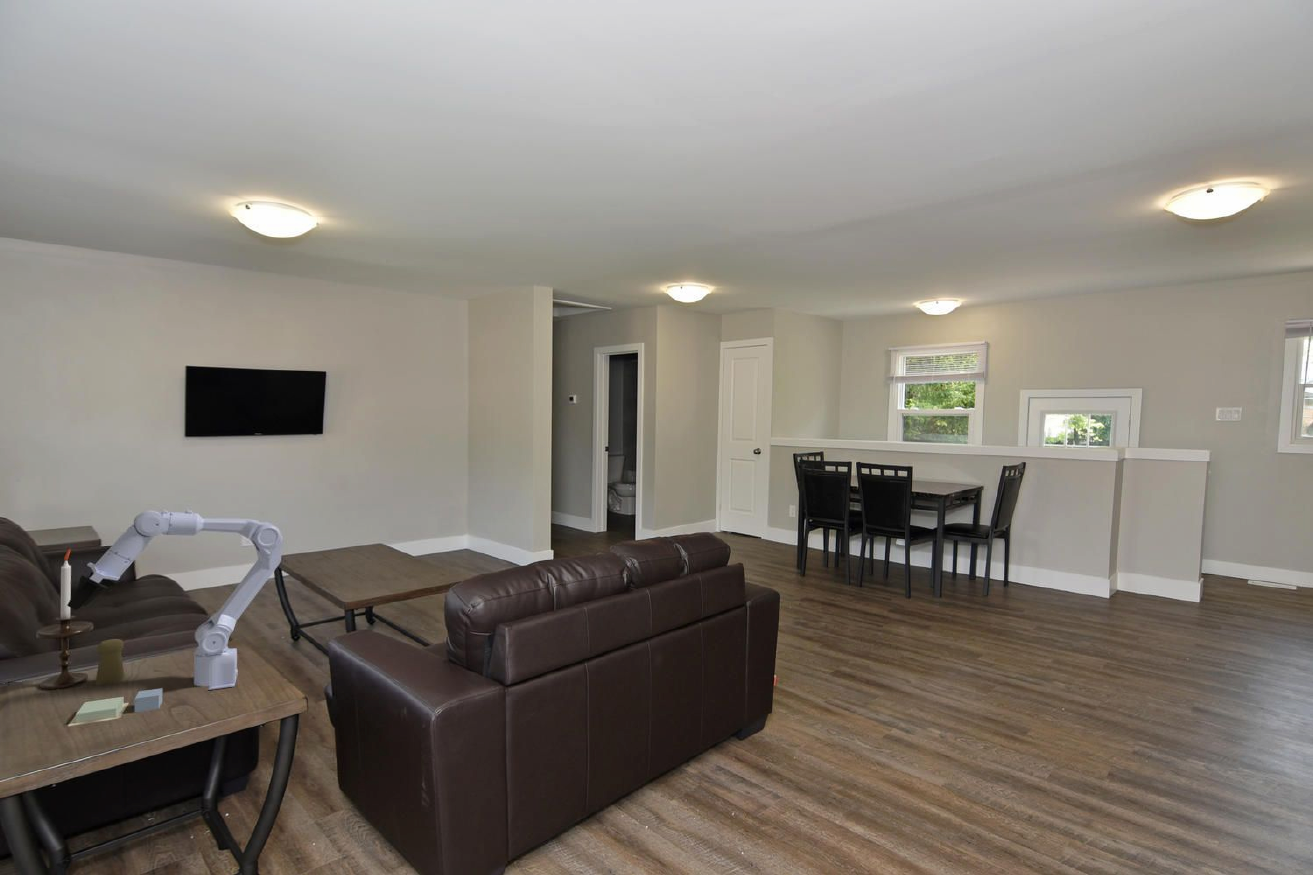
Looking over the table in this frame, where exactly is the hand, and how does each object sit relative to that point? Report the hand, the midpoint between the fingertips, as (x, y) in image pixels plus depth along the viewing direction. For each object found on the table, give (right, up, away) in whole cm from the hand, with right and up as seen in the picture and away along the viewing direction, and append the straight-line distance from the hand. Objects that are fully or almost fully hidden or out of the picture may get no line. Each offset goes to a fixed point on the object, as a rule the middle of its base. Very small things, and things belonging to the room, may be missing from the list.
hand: (76, 605), depth 150 cm
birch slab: (+7, -26, -2) cm, 27 cm away
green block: (+8, -24, -2) cm, 26 cm away
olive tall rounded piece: (-7, -25, +18) cm, 32 cm away
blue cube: (+15, -26, +2) cm, 30 cm away
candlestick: (-18, -25, +17) cm, 35 cm away
